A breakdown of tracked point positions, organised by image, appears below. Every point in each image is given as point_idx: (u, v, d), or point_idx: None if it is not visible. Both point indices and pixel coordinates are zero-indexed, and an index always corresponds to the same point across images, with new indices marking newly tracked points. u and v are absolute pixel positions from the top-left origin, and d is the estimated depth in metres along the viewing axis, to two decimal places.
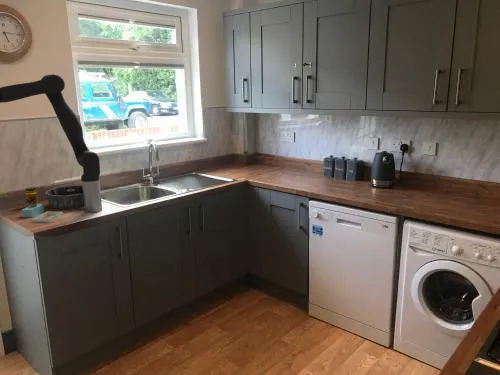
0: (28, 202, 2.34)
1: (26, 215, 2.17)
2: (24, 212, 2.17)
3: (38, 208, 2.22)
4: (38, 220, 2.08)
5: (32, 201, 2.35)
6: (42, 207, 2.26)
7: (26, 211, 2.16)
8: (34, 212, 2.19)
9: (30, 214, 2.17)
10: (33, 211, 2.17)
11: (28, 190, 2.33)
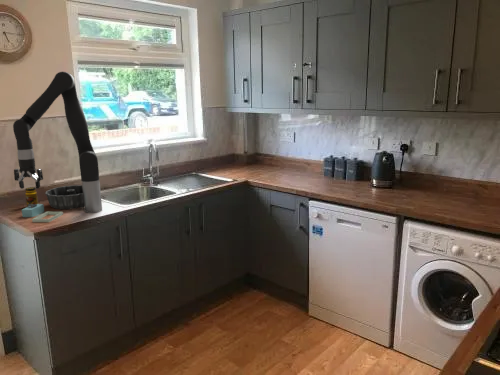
0: (28, 202, 2.34)
1: (26, 215, 2.17)
2: (24, 212, 2.17)
3: (38, 208, 2.22)
4: (38, 220, 2.08)
5: (32, 201, 2.35)
6: (42, 207, 2.26)
7: (26, 211, 2.16)
8: (34, 212, 2.19)
9: (30, 214, 2.17)
10: (33, 211, 2.17)
11: (28, 190, 2.33)
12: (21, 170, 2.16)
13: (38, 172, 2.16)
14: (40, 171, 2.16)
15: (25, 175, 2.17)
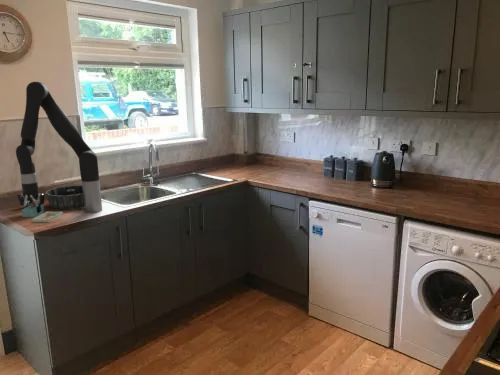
0: None
1: (26, 215, 2.17)
2: (24, 212, 2.17)
3: None
4: (38, 220, 2.08)
5: (32, 201, 2.35)
6: (42, 207, 2.26)
7: (26, 211, 2.16)
8: (34, 212, 2.19)
9: (30, 214, 2.17)
10: (33, 211, 2.17)
11: None
12: (24, 194, 2.19)
13: (41, 197, 2.19)
14: (42, 196, 2.19)
15: (29, 198, 2.19)
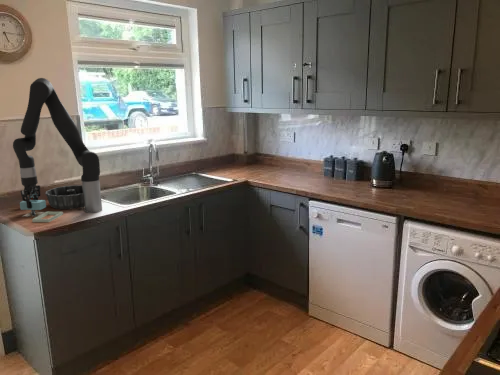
0: None
1: None
2: None
3: None
4: (38, 220, 2.08)
5: None
6: (37, 205, 2.18)
7: None
8: (24, 206, 2.19)
9: None
10: (22, 204, 2.19)
11: None
12: None
13: None
14: (22, 193, 2.13)
15: None
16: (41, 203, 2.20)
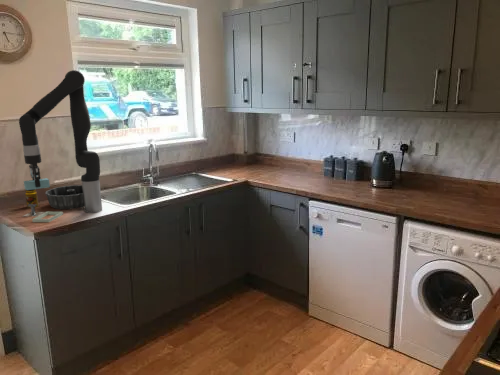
0: (28, 202, 2.34)
1: (25, 187, 2.13)
2: (24, 184, 2.13)
3: None
4: (38, 220, 2.08)
5: (32, 201, 2.35)
6: (46, 182, 2.16)
7: (24, 183, 2.12)
8: (31, 185, 2.12)
9: (25, 187, 2.11)
10: (28, 184, 2.11)
11: (28, 190, 2.33)
12: (30, 166, 2.15)
13: (34, 171, 2.08)
14: (36, 171, 2.08)
15: None
16: (48, 180, 2.18)
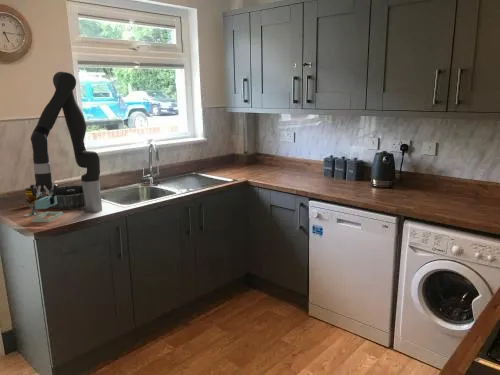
0: (28, 202, 2.34)
1: (39, 207, 2.07)
2: (38, 204, 2.07)
3: None
4: (38, 220, 2.08)
5: (32, 201, 2.35)
6: (55, 199, 2.16)
7: (39, 202, 2.07)
8: (48, 203, 2.09)
9: (44, 205, 2.07)
10: (46, 202, 2.08)
11: (28, 190, 2.33)
12: (37, 185, 2.09)
13: (54, 188, 2.09)
14: (56, 187, 2.10)
15: (42, 189, 2.10)
16: None
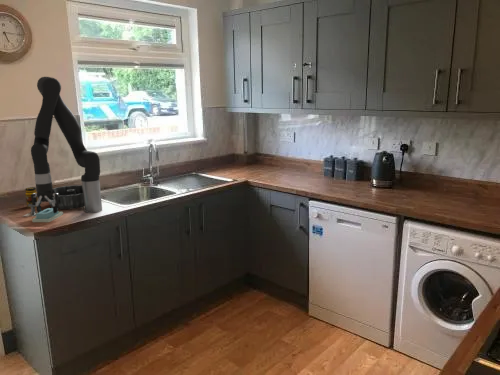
0: (28, 202, 2.34)
1: None
2: (39, 216, 2.09)
3: None
4: (38, 220, 2.08)
5: None
6: None
7: (41, 215, 2.09)
8: (49, 216, 2.11)
9: None
10: (48, 215, 2.10)
11: (28, 190, 2.33)
12: (38, 194, 2.11)
13: (56, 197, 2.10)
14: (58, 195, 2.11)
15: (43, 199, 2.11)
16: None
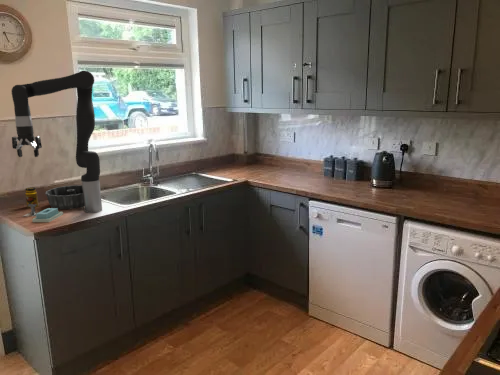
0: (28, 202, 2.34)
1: None
2: (39, 216, 2.09)
3: (53, 212, 2.14)
4: (38, 220, 2.08)
5: (32, 201, 2.35)
6: (56, 211, 2.18)
7: (41, 215, 2.09)
8: (49, 216, 2.11)
9: None
10: (48, 215, 2.10)
11: (28, 190, 2.33)
12: (19, 138, 2.11)
13: (36, 140, 2.11)
14: (38, 139, 2.12)
15: (23, 143, 2.12)
16: None
